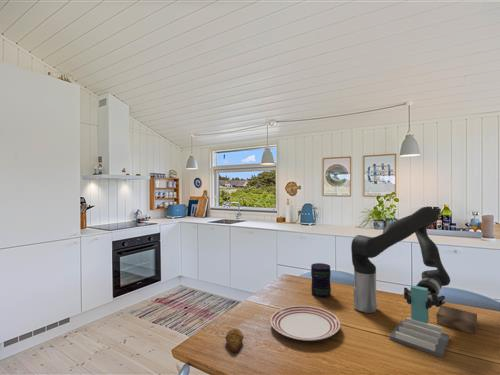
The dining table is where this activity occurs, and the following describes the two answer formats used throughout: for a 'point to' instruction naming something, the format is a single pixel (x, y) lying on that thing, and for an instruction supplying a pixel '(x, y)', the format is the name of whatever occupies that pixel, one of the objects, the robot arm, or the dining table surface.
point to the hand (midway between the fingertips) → (417, 303)
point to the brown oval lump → (234, 339)
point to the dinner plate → (305, 323)
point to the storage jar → (321, 280)
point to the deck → (457, 319)
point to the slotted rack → (421, 336)
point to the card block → (419, 304)
